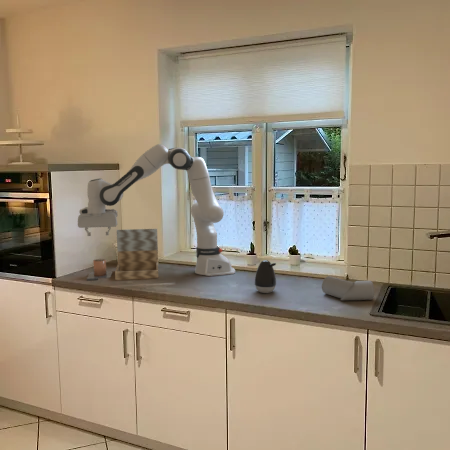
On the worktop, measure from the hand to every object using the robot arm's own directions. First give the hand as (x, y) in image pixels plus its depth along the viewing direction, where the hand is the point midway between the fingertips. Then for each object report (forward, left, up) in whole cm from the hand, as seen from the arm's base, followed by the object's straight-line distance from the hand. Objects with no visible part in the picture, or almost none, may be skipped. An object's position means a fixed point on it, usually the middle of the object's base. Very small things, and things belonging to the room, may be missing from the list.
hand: (98, 235), depth 251 cm
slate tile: (0, 0, -22) cm, 22 cm away
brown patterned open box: (-20, +2, -22) cm, 30 cm away
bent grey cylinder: (-115, +58, -23) cm, 130 cm away
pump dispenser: (-81, +43, -23) cm, 94 cm away
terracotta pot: (0, 0, -21) cm, 21 cm away
